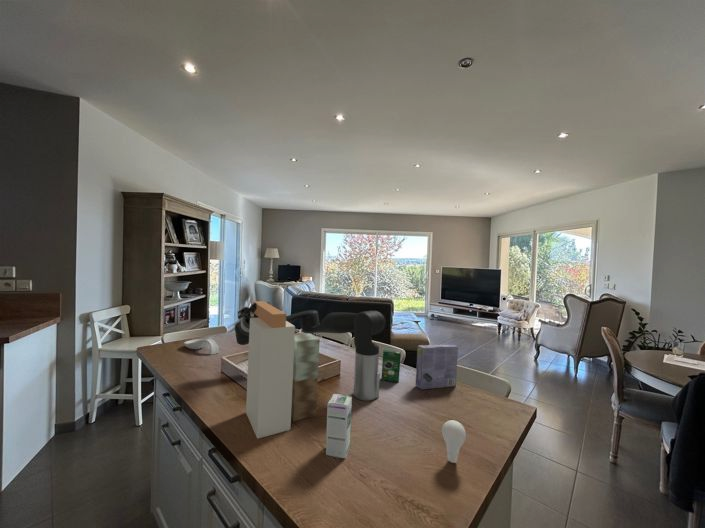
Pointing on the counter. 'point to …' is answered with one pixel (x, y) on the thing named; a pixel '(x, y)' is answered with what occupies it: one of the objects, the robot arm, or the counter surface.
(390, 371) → the coffee box
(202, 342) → the spoon rest
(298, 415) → the tower
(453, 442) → the lightbulb
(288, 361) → the stand
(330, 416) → the syrup box
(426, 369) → the cake pan box
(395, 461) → the counter surface
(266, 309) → the bar
